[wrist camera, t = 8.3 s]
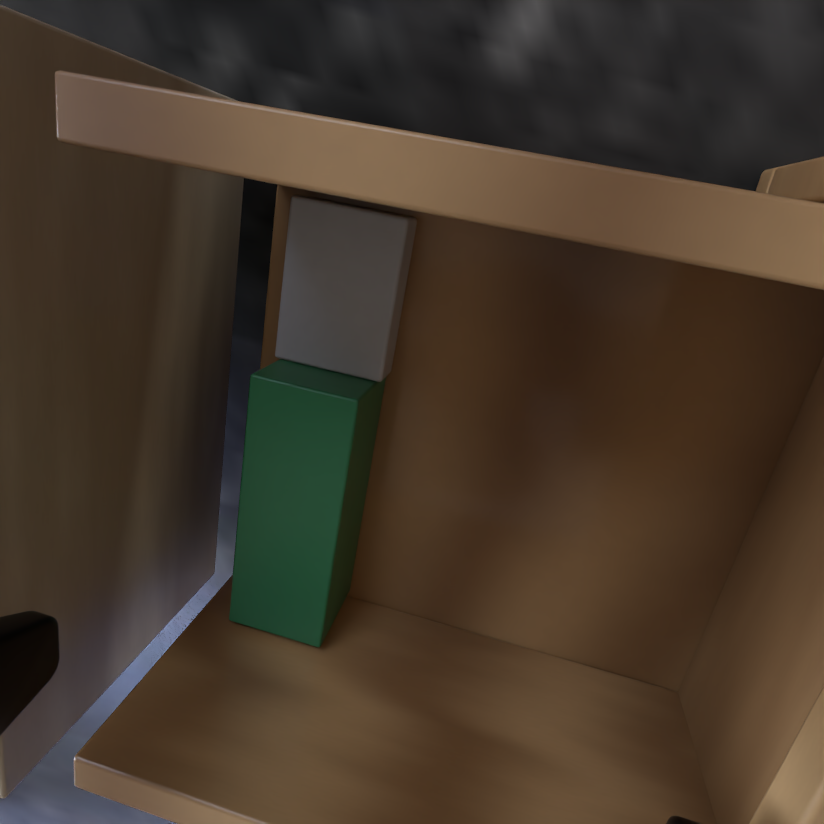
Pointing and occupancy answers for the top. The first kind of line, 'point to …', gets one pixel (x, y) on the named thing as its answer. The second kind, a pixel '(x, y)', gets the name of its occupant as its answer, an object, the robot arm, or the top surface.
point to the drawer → (411, 468)
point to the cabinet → (820, 733)
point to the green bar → (317, 416)
